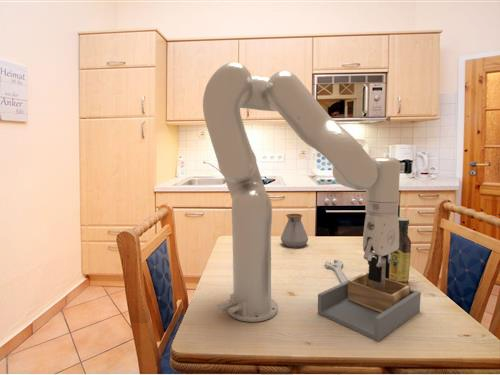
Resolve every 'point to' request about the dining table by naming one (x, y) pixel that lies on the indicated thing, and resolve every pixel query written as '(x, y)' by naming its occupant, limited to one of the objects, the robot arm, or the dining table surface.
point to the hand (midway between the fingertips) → (378, 278)
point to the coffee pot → (294, 232)
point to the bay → (366, 312)
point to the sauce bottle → (401, 255)
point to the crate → (377, 291)
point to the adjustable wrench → (337, 270)
